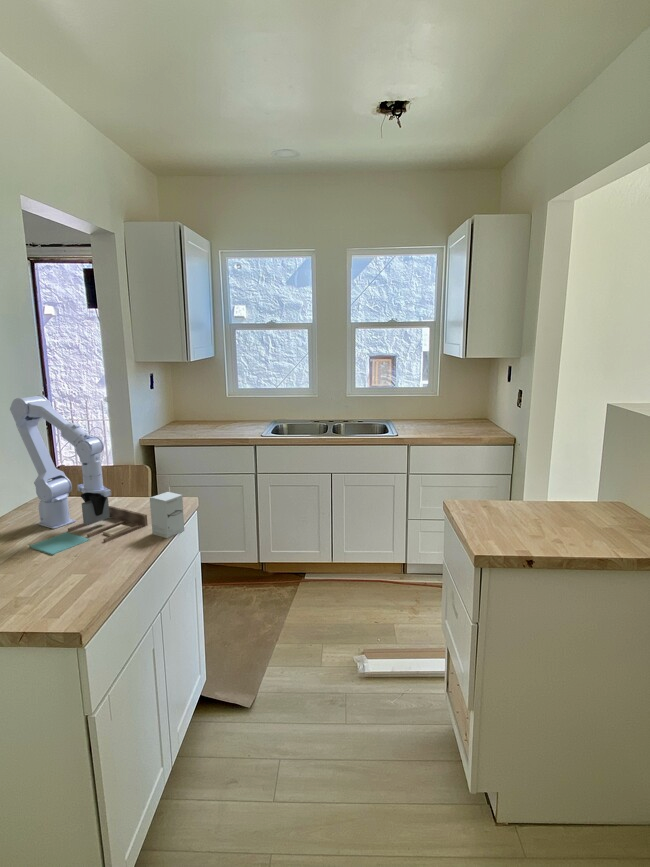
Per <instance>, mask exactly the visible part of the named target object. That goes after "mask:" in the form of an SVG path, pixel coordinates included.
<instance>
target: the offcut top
mask: <svg viewBox="0 0 650 867" xmlns="http://www.w3.org/2000/svg"><path fill="white" fill-rule="evenodd" d="M130 528H131V526H129V525H126V524H123V525H119V526H116V527H114V528H111V529H109V530H106V531H104V532H103V533H102V535H103V536H108V537H110V536H112V535H115V534H117V533H120V532H122V531H125V530H127V529H130Z"/></svg>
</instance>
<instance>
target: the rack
mask: <svg viewBox="0 0 650 867" xmlns="http://www.w3.org/2000/svg"><path fill="white" fill-rule="evenodd" d="M109 514H110V517H109V518H112V519H116V520H119V521H118V522H115V523H113V524H111V525H108V526H105V527H103V528H100V529H98V530H94V531H91V532H89V533H87V534H86V538H88V539H90V538H93V537H94V536H97V535H99V534H103V532H104V531H106V530H109V529H111V528H114V527H116V526H119V525H126V524H127V523H131V524H134V525H135V526H132V527H130V529H127V530H125V531H122V532H120V533H117V534H115V535H112V536H108V537H105V538H103V539H102V540H103V543H109V542H111V541H113V540H115V539H118V538H121V537H122V536H125V535H128V534H130V533H132V532H135V531H138V530H140V529H142V528H143V527H147V526H148V524H149V523H148V514H145V513H141V512H136V511H132V510H128V509H125V508H120V507H115V506H111V505H109ZM98 522H100V521H98ZM98 522H95V523H94V524H96V523H98ZM87 526H89V525H86V524H84V523H83V522H82V523H80V524H77V525H74V526H72V527H69V528H67V532H68V533H71V532H73V531H76V530H78V529H79V530H80V529H82V528H84V527H87Z"/></svg>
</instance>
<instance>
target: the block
mask: <svg viewBox="0 0 650 867" xmlns="http://www.w3.org/2000/svg"><path fill="white" fill-rule="evenodd" d="M109 506H110V505H109V496H108V497H107V499H106V501H105V504H104V509H103V514H101V515H99V516H96V514H95V511H94V506H93V503H92V501H87V502H85V501H84V502H81V511H82V512H81V513H82V520H83V521H82V523H84V524H86V525H88V526H90V525H93V524H96V523H98V521H99V522H101V521H104V520H106V519H109V518H111V517H110V514H109ZM95 522H96V523H95Z"/></svg>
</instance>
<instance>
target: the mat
mask: <svg viewBox="0 0 650 867" xmlns="http://www.w3.org/2000/svg"><path fill="white" fill-rule="evenodd" d="M89 541H91V539H90V538H89V537H84V536H81V535H79V534H78V535H77V534H74V533H71V532H68V531H67V532H64V533H61V534H58V535H55V536H53V537H50V538H48V539H44V540H41V541H38V542H37V543H33V544H30V545H29V546H28V547H29V548H30V549H32V550H37V551H39V552H41V553H45V554H46V555H47V554H48V555H51V556H55V555H56V554H59V553H61V552H63V551H66V550H69V549H71V548H74V547H76V546H79V545H81V544H84V543H87V542H89Z"/></svg>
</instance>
